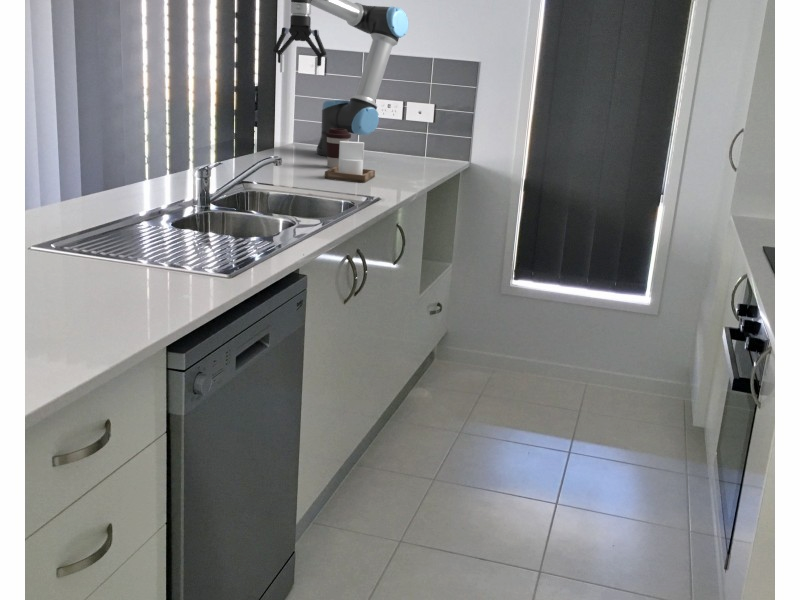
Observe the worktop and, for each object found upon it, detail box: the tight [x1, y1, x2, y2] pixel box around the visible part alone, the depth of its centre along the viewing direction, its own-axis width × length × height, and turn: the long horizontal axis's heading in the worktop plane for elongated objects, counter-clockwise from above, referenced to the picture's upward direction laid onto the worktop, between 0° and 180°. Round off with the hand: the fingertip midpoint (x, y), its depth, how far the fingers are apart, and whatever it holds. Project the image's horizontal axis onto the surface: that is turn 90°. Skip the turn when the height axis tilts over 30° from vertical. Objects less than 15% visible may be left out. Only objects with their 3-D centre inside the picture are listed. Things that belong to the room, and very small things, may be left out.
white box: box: [338, 141, 365, 175], centre depth 312 cm, size 9×9×12 cm
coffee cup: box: [325, 128, 352, 169], centre depth 333 cm, size 10×10×15 cm
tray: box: [324, 166, 376, 184], centre depth 314 cm, size 15×15×2 cm
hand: (299, 73), depth 325 cm, fingers open, 13 cm apart
